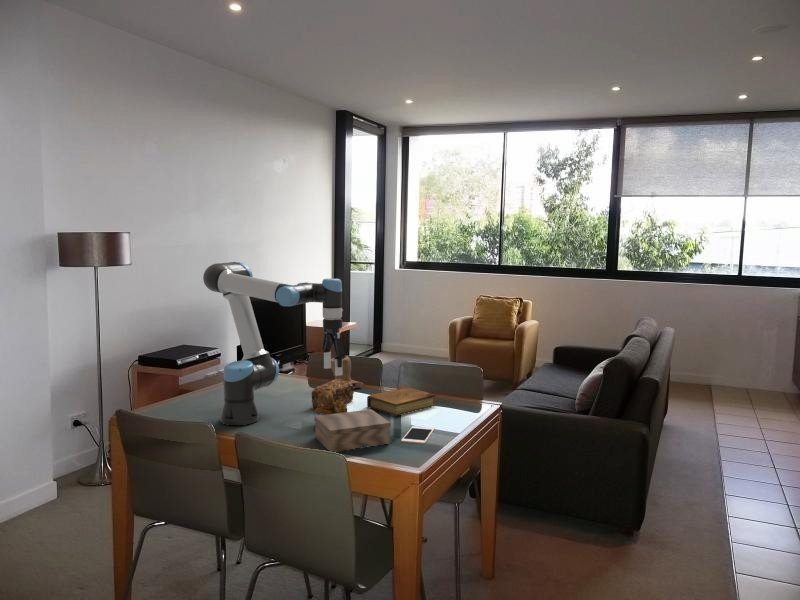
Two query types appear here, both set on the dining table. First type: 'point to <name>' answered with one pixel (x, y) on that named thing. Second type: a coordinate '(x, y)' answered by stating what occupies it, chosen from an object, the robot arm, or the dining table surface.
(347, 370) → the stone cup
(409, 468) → the dining table surface
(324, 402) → the stuffed squirrel
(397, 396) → the diary
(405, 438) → the cell phone
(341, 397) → the bread
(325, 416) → the walnut box
